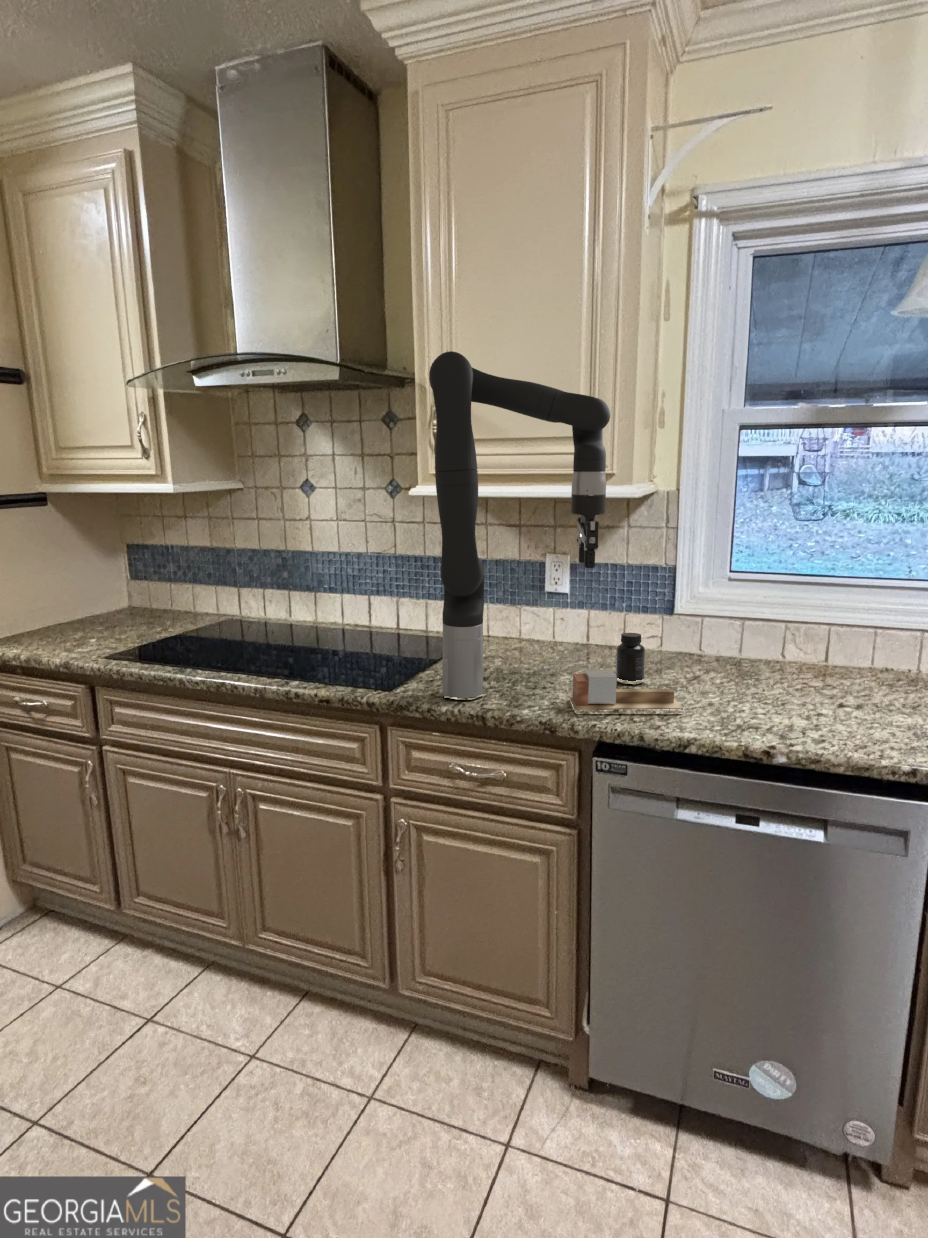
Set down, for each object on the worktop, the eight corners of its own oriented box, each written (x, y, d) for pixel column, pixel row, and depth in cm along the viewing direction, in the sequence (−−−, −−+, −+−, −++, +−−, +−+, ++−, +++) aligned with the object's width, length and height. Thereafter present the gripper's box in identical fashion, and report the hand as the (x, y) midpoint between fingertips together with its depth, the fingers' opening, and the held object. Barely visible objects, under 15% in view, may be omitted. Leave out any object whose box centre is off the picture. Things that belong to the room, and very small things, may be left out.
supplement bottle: (639, 677, 183) (641, 631, 180) (647, 685, 176) (649, 637, 173) (612, 678, 182) (614, 631, 180) (619, 686, 176) (621, 637, 173)
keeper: (587, 703, 156) (588, 676, 155) (583, 695, 162) (584, 669, 161) (615, 703, 156) (616, 676, 155) (610, 695, 162) (611, 669, 161)
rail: (574, 714, 155) (575, 683, 154) (569, 701, 164) (569, 671, 163) (682, 714, 155) (684, 683, 154) (671, 701, 164) (672, 671, 162)
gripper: (567, 491, 168) (565, 561, 171) (576, 493, 154) (574, 569, 157) (599, 491, 168) (597, 561, 171) (611, 493, 154) (608, 569, 157)
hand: (586, 565), depth 164 cm, fingers open, 8 cm apart
